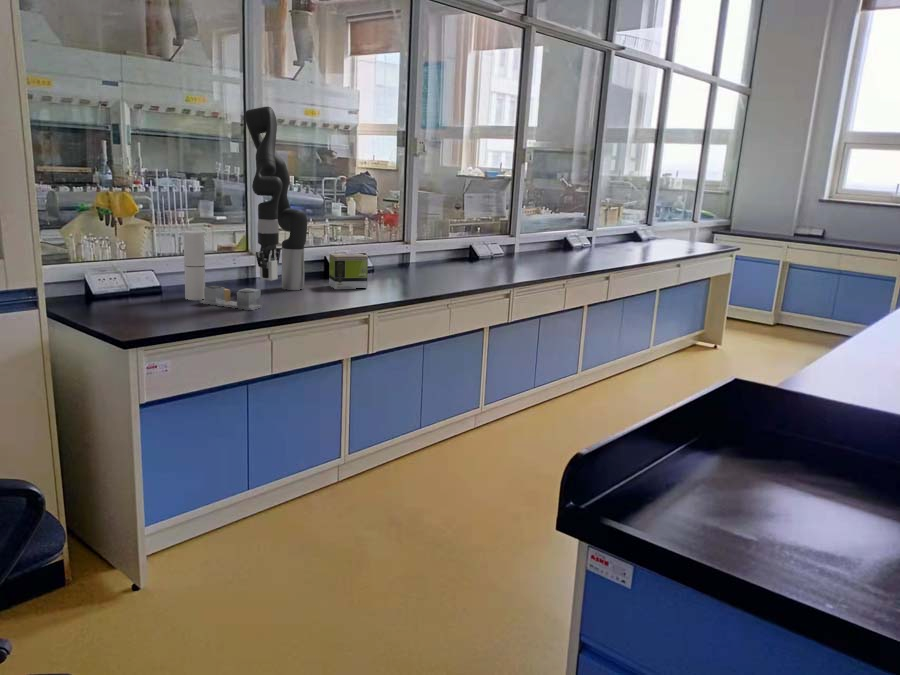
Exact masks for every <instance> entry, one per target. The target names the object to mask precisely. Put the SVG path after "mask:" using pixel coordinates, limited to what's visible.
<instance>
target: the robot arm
mask: <svg viewBox="0 0 900 675" xmlns="http://www.w3.org/2000/svg"><path fill="white" fill-rule="evenodd" d="M244 120H245V124H246V127H247V130H248V132H249V134H250V137H251V139H252V143H253V145H254V147H255V149H256V152H255V168H256V169H255V174H254V177H253V180H252V184H251V185H252V186H251V187H252V191H253V193H254V194H255V195H256V196H263V197H267V196H268V197H271V199H270V200H268V201H263V202H260V203H259V204H258V205H257V244H259V245H260V250H259V251H256V252H255V256H256V262H257V266H258V267H259V268H260V267H261V268H262V276H263V278H268V277H269V271H268V266H269V262H270V260H277V265H279V262H280V258H281V289H282V290H286V289H287V291H300V289H302V290H304V289H303V288H305V273H306V272H305V245H306V241H307V234H308V218H307V214H306V213H305V212H304V210H300V209H294V208H293V209H292V207H291V206H290V202H289V199H288V190H289V186H290V179H291V178H290V175H289V170H288V168H287V165H286V162H285V161H284V159H283V158H282V157H281V156H280V155H279V154H278V153H276V141H277V132H278V131H277V130H278V122H277V116H276V113H275V111H274V108H272V107H271V106H262V107H256V108H250V109H247V110H246V111H245V112H244ZM264 133H265V135H264V137H263V136H262V135H261V134H264ZM279 227H280V229H281V230H283V231H285V232H289V237H288V238H287V239H284V240H282V242H281V248H277V245H279V244H280V243H279V242H280V241H279V239H280V238H279V236H280V235H279V234H280V232H279V230H280V229H279ZM265 259H267V260H265ZM265 262H266V264H265Z"/></svg>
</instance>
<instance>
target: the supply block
mask: <svg viewBox="0 0 900 675" xmlns="http://www.w3.org/2000/svg"><path fill="white" fill-rule="evenodd" d="M243 290H249V291H255V292H257V300H258V299H260V298H261V289H259V288H258V289H257V288H250V287H249V288H248V287H245V288H242V289H238V291H237V292H239V291H243Z"/></svg>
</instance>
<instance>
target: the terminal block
mask: <svg viewBox="0 0 900 675" xmlns="http://www.w3.org/2000/svg"><path fill="white" fill-rule="evenodd" d="M224 291H225V300H227V301H231V289H229V288H225V287H224Z"/></svg>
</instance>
